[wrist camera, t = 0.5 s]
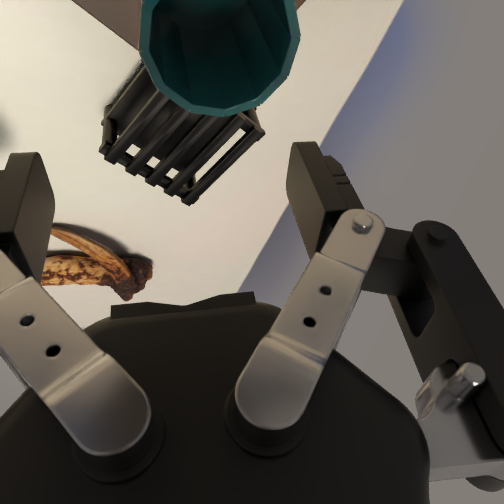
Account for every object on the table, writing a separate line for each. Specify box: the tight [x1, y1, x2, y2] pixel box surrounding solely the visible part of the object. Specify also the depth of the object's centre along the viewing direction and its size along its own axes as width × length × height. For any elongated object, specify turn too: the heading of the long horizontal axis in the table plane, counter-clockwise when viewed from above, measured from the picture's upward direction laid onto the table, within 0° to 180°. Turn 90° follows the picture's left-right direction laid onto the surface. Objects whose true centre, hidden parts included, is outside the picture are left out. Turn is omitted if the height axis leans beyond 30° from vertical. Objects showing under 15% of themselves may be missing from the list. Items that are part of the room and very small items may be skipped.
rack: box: [99, 65, 265, 206], centre depth 39 cm, size 10×10×7 cm
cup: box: [138, 0, 301, 117], centre depth 20 cm, size 6×6×9 cm
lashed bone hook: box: [40, 226, 152, 301], centre depth 51 cm, size 9×5×18 cm
